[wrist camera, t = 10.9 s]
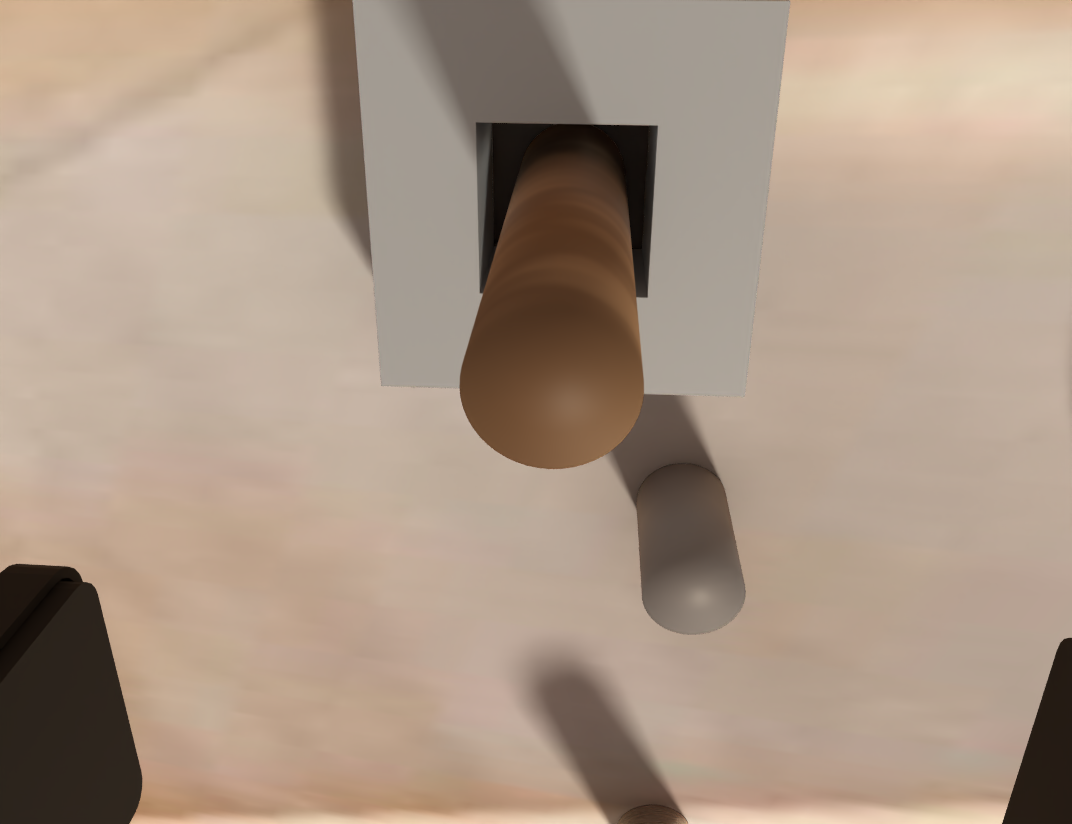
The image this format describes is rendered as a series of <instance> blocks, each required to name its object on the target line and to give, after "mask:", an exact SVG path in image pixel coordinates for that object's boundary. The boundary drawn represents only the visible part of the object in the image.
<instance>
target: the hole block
mask: <svg viewBox="0 0 1072 824" xmlns="http://www.w3.org/2000/svg"><path fill="white" fill-rule="evenodd" d="M352 1H353V14H354V28H355V41H356V54H357V68H358V81H359V95H360V108H361V122H362V135H363V149H364V162H365V175H366V189H367V202H368V216H369V229H370V243H371V256H372V270H373V283H374V296H375V310H376V323H377V337H378V350H379V364H380V377H381V386H395V387H428V388H460V387H459V385H460V372H461V367H462V363H463V360H464V356H465V353H466V349H467V346H468V343H469V339H470V336H471V332H472V329H473V326H474V322H475V319H476V315H477V312H478V309H479V305H480V302H481V299H482V295H483V292H484V288H485V285H486V282H487V278H488V275H489V271H490V268H491V265H492V261H493V258H494V254H495V251H496V248H497V246H494V210H493V142H492V123H540V124H599V125H649V133H648V151H647V168H646V186H645V204H644V221H643V239H642V249H632V255H633V266H634V278H635V289H636V300H637V311H638V322H639V333H640V344H641V355H642V366H643V377H644V394H660V395H693V396H727V397H745V392H746V383H747V375H748V366H749V357H750V348H751V340H752V331H753V322H754V314H755V305H756V296H757V287H758V279H759V270H760V261H761V253H762V244H763V235H764V226H765V218H766V209H767V200H768V191H769V183H770V174H771V165H772V157H773V148H774V139H775V130H776V122H777V113H778V104H779V95H780V87H781V78H782V69H783V61H784V52H785V43H786V34H787V26H788V17H789V8H790V1H789V0H352Z"/></svg>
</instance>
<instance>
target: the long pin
mask: <svg viewBox="0 0 1072 824" xmlns="http://www.w3.org/2000/svg"><path fill="white" fill-rule="evenodd" d="M459 387H460V397H461V401H462V405H463V409H464V411H465V413H466V416H467V418H468V420H469V422H470V423H471V425H472V427H473V428H474V430H475V431H476V432H477V434H478V435H479V436H480V437H481V438H482V439H483V440H484V441H485V442H486V443H487V444H488V445H489V446H490V447H492V448H493V449H494V450H495V451H497V452H498V453H500V454H502V455H503V456H505V457H507V458H509V459H511V460H513V461H515V462H518V463H521V464H524V465H527V466H532V467H537V468H546V469H563V468H570V467H576V466H579V465H583V464H586V463H589V462H591V461H594V460H596V459H598V458H600V457H602V456H604V455H605V454H607V453H608V452H610V451H611V450H612V449H614V448H615V447H616V446H617V445H618V444H619V443H621V442H622V441H623V439H624V438H625V437H626V436H627V435H628V433H629V432H630V431H631V429H632V427H633V426H634V424H635V422H636V420H637V418H638V416H639V414H640V410H641V407H642V403H643V396H644V377H643V366H642V355H641V344H640V333H639V322H638V311H637V300H636V289H635V278H634V266H633V255H632V244H631V233H630V222H629V211H628V200H627V189H626V178H625V168H624V162H623V158H622V155H621V153H620V151H619V149H618V147H617V146H616V144H615V143H614V141H613V140H612V139H611V138H610V137H609V136H608V135H607V134H606V133H604V132H603V131H602V130H600V129H598V128H596V127H595V126H592V125H589V124H556V125H553V126H551V127H549V128H547V129H546V130H544V131H542V132H541V133H540V134H539V135H538V136H536V137H535V139H534V140H533V141H532V142H531V143H530V145H529V146H528V148H527V150H526V152H525V154H524V157H523V160H522V163H521V166H520V170H519V173H518V177H517V180H516V183H515V187H514V190H513V193H512V197H511V200H510V204H509V207H508V210H507V214H506V217H505V221H504V224H503V227H502V231H501V234H500V238H499V241H498V244H497V248H496V251H495V254H494V258H493V261H492V265H491V268H490V271H489V275H488V278H487V282H486V285H485V288H484V292H483V295H482V299H481V302H480V305H479V309H478V312H477V315H476V319H475V322H474V326H473V329H472V332H471V336H470V339H469V343H468V346H467V349H466V353H465V356H464V360H463V363H462V367H461V372H460V385H459Z"/></svg>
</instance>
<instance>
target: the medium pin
mask: <svg viewBox="0 0 1072 824" xmlns="http://www.w3.org/2000/svg"><path fill="white" fill-rule="evenodd" d="M618 824H688V822H687V821H686V819H685V818H684V817H683V816H682V815H681V814H680V813H678V812H677V811H675V810H673V809H670V808H668V807H664V806H657V805H647V806H641V807H637V808H635V809H632V810H630V811H628V812H627V813H626V814H624V815H623V816H622V817H621V819H620V820H619V822H618Z"/></svg>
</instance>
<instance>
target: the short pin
mask: <svg viewBox="0 0 1072 824" xmlns="http://www.w3.org/2000/svg"><path fill="white" fill-rule="evenodd" d="M637 520H638V537H639V554H640V571H641V588H642V600H643V604H644V607H645V609H646V611H647V613H648V614H649V616H650V617H651V618H652V619H653V620H654V621H655V622H656V623H657V624H659V625H660V626H662V627H664V628H665V629H668V630H670V631H673V632H676V633H681V634H688V635H697V634H704V633H709V632H712V631H715V630H717V629H720V628H722V627H723V626H725V625H727V624H728V623H729V622H731V621H732V620H733V619H734V618H735V617H736V616H737V614H738V613H739V612H740V610H741V608H742V606H743V604H744V600H745V593H746V590H745V584H744V579H743V574H742V569H741V565H740V560H739V555H738V550H737V545H736V541H735V536H734V531H733V526H732V521H731V517H730V512H729V507H728V502H727V498H726V493H725V490H724V487H723V485H722V483H721V482H720V480H719V479H718V478H717V477H716V476H715V475H714V474H713V473H712V472H710V471H709V470H707V469H705V468H703V467H700V466H697V465H693V464H686V463H681V464H672V465H668V466H665V467H662V468H660V469H658V470H656V471H655V472H653V473H652V474H651V475H649V476H648V477H647V478H646V480H645V481H644V482H643V483H642V485H641V487H640V489H639V491H638V495H637Z"/></svg>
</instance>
